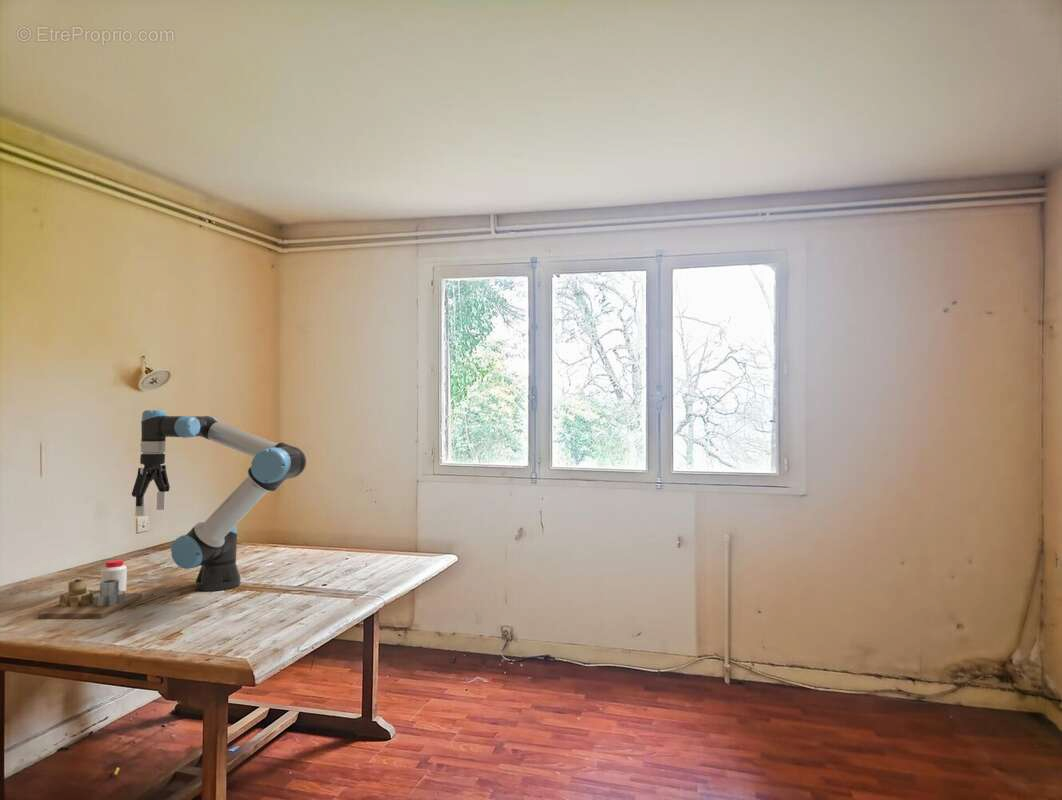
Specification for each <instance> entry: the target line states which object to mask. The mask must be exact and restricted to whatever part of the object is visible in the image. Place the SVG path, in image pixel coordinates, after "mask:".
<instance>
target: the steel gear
mask: <svg viewBox="0 0 1062 800" xmlns="http://www.w3.org/2000/svg"><path fill="white" fill-rule="evenodd" d="M95 593H96V594H93V596H92V605H93V606H97V607H104V606H114V605H116V604H121V603H123V602H124V601H125V593H126V591H124V590H123V591H120V590H119V580H117V579H111V580H105V581H102V582H101V581H100V582H99V592H95Z"/></svg>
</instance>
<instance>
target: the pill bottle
mask: <svg viewBox="0 0 1062 800" xmlns="http://www.w3.org/2000/svg"><path fill="white" fill-rule="evenodd" d="M124 562H125V561H124V559H119V558H118V559H110V560H106V561H105V562H104V566H103V567H102V568H101V570H100V582H102V581H105V580H111V579H117V580H119V590H120V591H123V590H124V591H125V592H126V591H127V581H128V580H127V577H128V576H127V575H128V567H127V565H125V564H124Z"/></svg>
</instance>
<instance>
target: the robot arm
mask: <svg viewBox="0 0 1062 800" xmlns="http://www.w3.org/2000/svg"><path fill="white" fill-rule="evenodd" d="M140 423H141V425H140V427H141V439H140V442H141V443H140V444H139V446H140V459H139V463H140V465H143V467H138V468H137V476H136V479H135V482H134V485H133V489H132V493H131V496H132V497H133V498H134V497H135V513H134V514H135V516H136V517H137V516H138V517H141V516H143V517H144V516H146V515H145V513H146V511H145V510H146V496H145V493H146V491H147V490H148V488H149V486H150V483H151V482H152V481H154V483H155V486H156V488H157V489H158V491H156V511H160V510H161V511H165V510H166V501H167V499H166V496H167V492H170V488H171V487H170V483H169V479H168V475H167V465H165V462H166V454H165V452H166V439H167V438H184V439H186V438H188V439H189V438H194V437H201V438H204V439H205V440H210V441H212V442H214V443H216V444H219V445H222V446H225V447H228V448H230V449H232V450H235V451H237V452H240V453H243V454H246V455H248V456H251V457H253V458H252V460H251V463H250V464H251V466H250V467H249V468H248V469H247V477H245V479H243V481H242V482H241V483H240V484H238V486H237V487H236V488H235V489H234V491H232V492H231V494H230V495H229V496H228V497H226V499H225V500H224V501H223V502H222V503H221V504H220V505H219V506H218V507H217V508H216V510H214V511H213V513H212V514H211V515H210V516H208V518H207V519H206V520H205V521H204V522H203V521H202V522H198V523H196V524H195V525H194V526H192V528H191V529H190V530H189V531H188V532H187V533H186V534H184V535H181V536H179V537H177V538H176V539H175V540H174V541H173V542H172V543H171V548H170V552H171V558H172V560H173V562H174V563H175V564H176V565H177V566H178V567H179V568H182V569H186V570H188V569H189V570H190V569H196V568H198V567H199V566H200V569H199V571H198V574H197V576H196V580H195V581H194V582H195V585H194V587H195V589H196V590H198V591H206V592H210V591H211V592H216V591H223V590H224V591H225V590H228V589H233V588H235V587H238V586H240V585H241V581H242V579H241V578H242V577H241V575H240V574H241V573H240V571H239V569H238V566H237V548H238V547H237V544H238V543H237V542H238V541H237V540H238V528H237V525H238V524H239V522H240V521H242V519H243V518H244V517H245V516H246V515H247V514H248V513H249V512H250V511H251V510H252V509H253V508H254V507H255V506H256V505H257V504H258V503H259V501H261V500H262V498H263V497H264V496H265V495H266V494H267V493H268V492H270V493H271V492H275V491H276V490H277V489H278V488H279V487H280V486H281V485H282V484H283V483H284V482H285V481H286V480H290V479H294V478H296V477H298V476H300V475H301V474H302V473H303V472H304V470H305V468H306V466H307V458H306V455H305V453H304V451H302V450H301V449H300V448H298V447H296V446H294V445H290V444H287V443H284V442H282V441H279V442H274V441H271V440H270V439H269V440H268V439H265V438H264V437H261V436H259V435H255V434H253V433H251V432H248V431H244V430H242V429H239V428H236V427H235V426H231V425H228V424H227V423H223V422H221V421H219V420H218V419H217V418H216V417H214V416H210V415H209V416H208V415H204V416H201V415H199V416H198V415H197V416H196V415H195V416H194V415H193V416H191V415H167V411H166V410H161V409H159V410H157V409H156V410H155V409H153V410H149V409H146V410H144V411H142V415H141V422H140Z"/></svg>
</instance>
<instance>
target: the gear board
mask: <svg viewBox="0 0 1062 800" xmlns="http://www.w3.org/2000/svg"><path fill="white" fill-rule="evenodd" d="M87 585H88V583H87V579H81V578H76V579H74V580H70V581H68V588H67V589H68V591H67V592H65V593H63V594H60V595H59V604H57V605H55V606H52V607H50V608H48V609H46V610H42V611H40V612H38V613H37V619H103V618H105V617H107V616H109V615H110V614H113V613H114V612H116V611H118V610H120V609H122V608H124V607H126V606H128V605H130V604H132V603H133V602H136V601H138V600H139V599H142V596H143V593H141V592H131V593H130V592H128V593H127V592H125V601H124V602H123V603H121V604H116V605H114V606H104V607H97V606H93V605H92V596H93V594H96V593H97V592H95V591H94V590H91V589H87Z"/></svg>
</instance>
